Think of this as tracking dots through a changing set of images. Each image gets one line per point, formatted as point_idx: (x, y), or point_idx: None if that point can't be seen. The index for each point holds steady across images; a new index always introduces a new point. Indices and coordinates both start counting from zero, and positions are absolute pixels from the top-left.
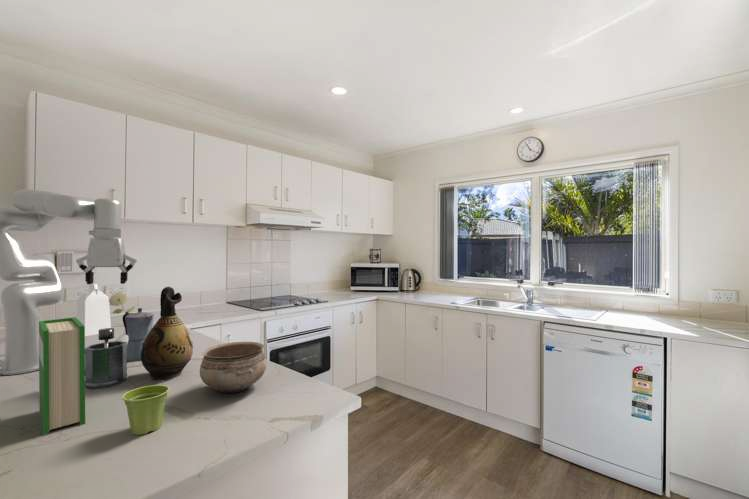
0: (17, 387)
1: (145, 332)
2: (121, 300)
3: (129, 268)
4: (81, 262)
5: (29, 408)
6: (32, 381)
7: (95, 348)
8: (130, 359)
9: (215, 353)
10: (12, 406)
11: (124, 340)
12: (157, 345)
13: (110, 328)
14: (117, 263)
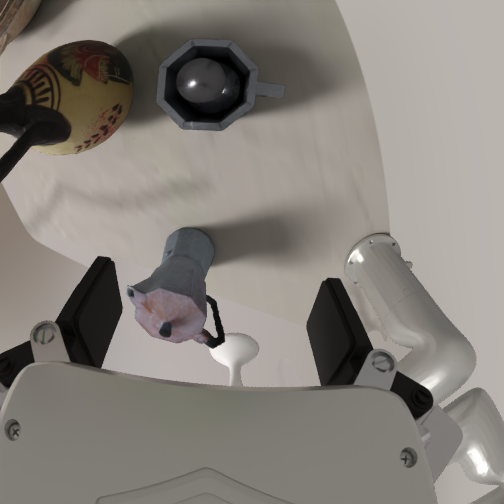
0: (367, 148)
1: (158, 269)
2: None
3: (15, 350)
4: (430, 430)
5: (313, 11)
6: (353, 174)
7: (240, 106)
8: (199, 232)
9: (3, 24)
10: (344, 38)
11: (238, 342)
12: (76, 43)
13: (189, 90)
14: (33, 389)
